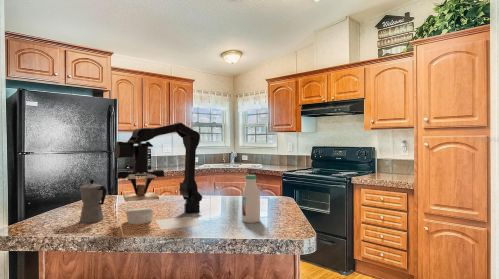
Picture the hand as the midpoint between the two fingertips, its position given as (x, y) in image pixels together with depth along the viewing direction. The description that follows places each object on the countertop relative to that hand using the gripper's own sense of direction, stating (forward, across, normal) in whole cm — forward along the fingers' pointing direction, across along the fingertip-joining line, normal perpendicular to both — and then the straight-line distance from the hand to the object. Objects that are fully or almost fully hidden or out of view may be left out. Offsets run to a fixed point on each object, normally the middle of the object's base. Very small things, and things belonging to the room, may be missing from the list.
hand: (140, 194), depth 132 cm
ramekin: (+12, 0, 0) cm, 12 cm away
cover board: (+2, 0, 0) cm, 2 cm away
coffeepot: (+12, +18, -12) cm, 25 cm away
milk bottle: (+12, -44, +18) cm, 49 cm away
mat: (+12, -14, +9) cm, 20 cm away
